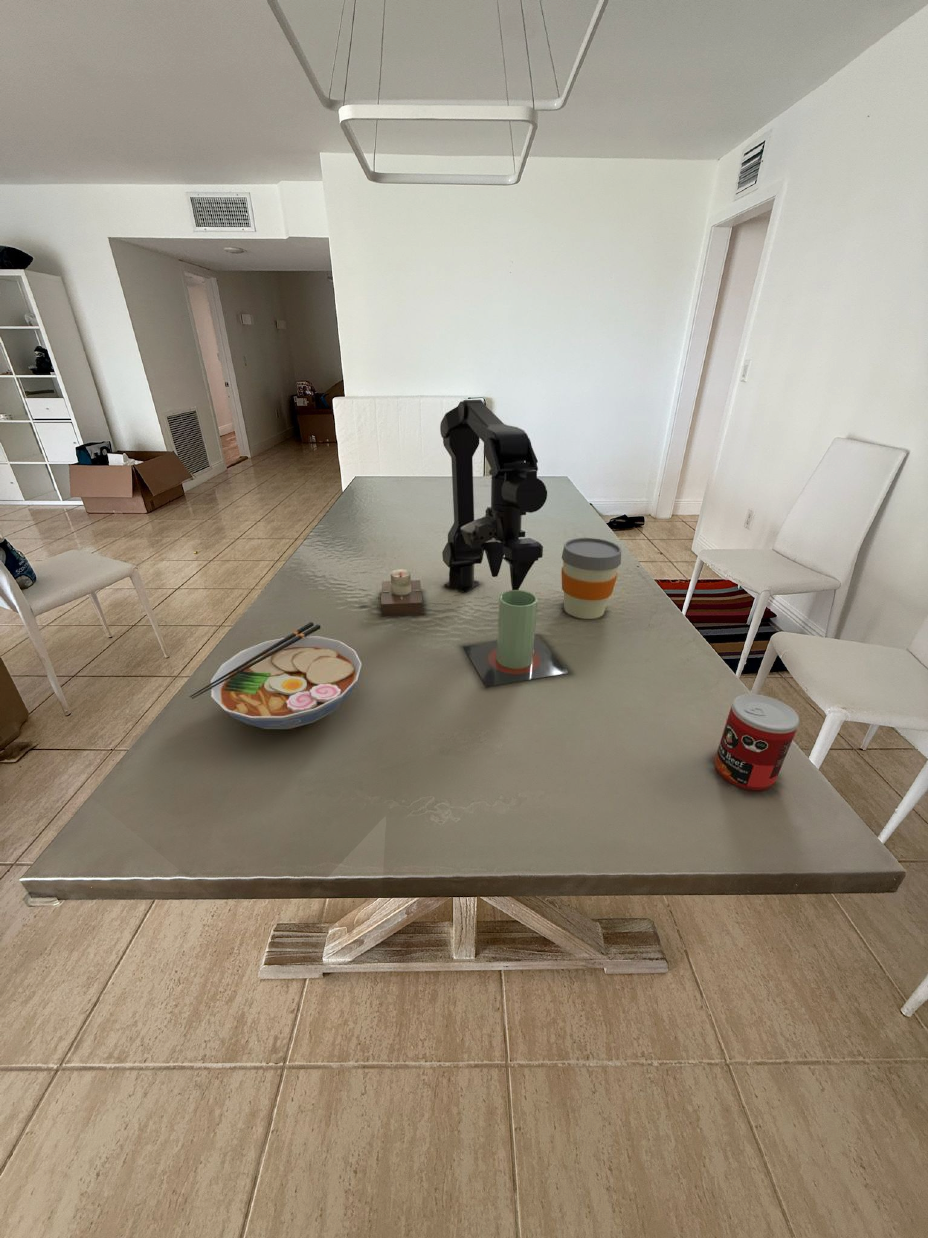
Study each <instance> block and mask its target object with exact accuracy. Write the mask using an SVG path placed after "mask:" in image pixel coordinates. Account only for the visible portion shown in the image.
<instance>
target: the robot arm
mask: <svg viewBox="0 0 928 1238" xmlns="http://www.w3.org/2000/svg"><path fill="white" fill-rule="evenodd" d="M439 431H440V436H441V438H442V443H443V447H444V448H445V450H446V452H447V454H448V455H449V456H450V459H451V460H450V461H451V482H452V505H453V524H452V525H451V528H450V529H449V531H448V532H447V543H446V544H445V546H444V548H443V549H442V552H441V555H442V556H441V557H442V562H443V563H444V564H445V565H446V566H447V568H449V571H448V581H447V582H446V583H444V584H443V585H444V587H445V588H448V589H450V590H451V589H452V590H455V591H458V592H462V593H468V592H470V591H471V590H473V589H474V588H475V587H476V586H479V585H480V582H479V581H478V580H475V565H478V564H479V565H481V564H482V563H483V562H482V561H483V558H484V555H485V557H486V559H487V564H488V567H489V571H490V575H491V577H492V578H497V577H498V576H499V574H500V571H501V567H502V564H503V560H504V561H505V562H506V563H507V564H508V565H509V574H510V586H511V590H520V588H521V586H522V584H523V583H524V581H525V578H526V576H527V575H528V574H529V572H530V570H531V568H532V567H533V565H534V564H535V562H537V561H539V559H542V558H543V556H544V546H543V544H542V543H541V542H539V541H537V540H536V539H533V538H531V537H526V531H525V530H523V529H522V519H523V516H526V515H527V513H529V514H530V513H531V514H532V513H536V512H538V511H539V510H540V509H541V508H542V507H543V506H544V505H545V503H546V501H547V499H548V490H547V486H546V485H545V483H544V481H542V479H540V478H538V471H539V467H538V463H539V461H538V458H537V455H536V453H535V451H534V448H533V445H532V442H531V439H530V437H529V435H528V433H527V431H525V430H524V429H522V428H520V427H518V426H513V425H509V424H505V423H504V422H503V421H502V420H501V419H500V418H499V417H498V416H497V414H495V413H494V412H493V411H492V410H491V408H489V407H488V406H487V402H486V401H485V400H482V399H463V400H462V401H459V403H458V405H456V407H453V408H452V409H450V410H449V411H447V412H446V413H445V414H444V415H443V418H442V420H441V421H440V423H439ZM480 441H482V442H483V455H484V456H485V460H486V461H487V463H488V465H489V467H490V469H489V471H488V474H489V475H490V476H491V478H490V479H491V480H490V481H491V483H490V486H491V487H490V493H491V494H490V506H488V507H487V506H486V509H485V514H484V516H482V517H480V518H476V519H475V500H474V499H475V498H474V497H475V496H474V495H475V493H474V468H473V467H474V465H473V457H474V456H475V453H476V452H477V450H478V448H479V446H480ZM484 553H485V554H484Z"/></svg>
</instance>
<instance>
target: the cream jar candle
mask: <svg viewBox="0 0 928 1238" xmlns="http://www.w3.org/2000/svg"><path fill="white" fill-rule="evenodd" d="M411 579H412V578H411V571H410V570H408V569H395V570H392V571H391V572H390V581H391V589H392V593H393V594H395V595H407V594H409V593H410V592H411V581H412V580H411Z"/></svg>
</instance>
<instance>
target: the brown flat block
mask: <svg viewBox="0 0 928 1238" xmlns="http://www.w3.org/2000/svg"><path fill="white" fill-rule="evenodd" d="M380 595H381V596H380V611H381V617H397V616H398V617H399V616H419V615H424V612H423V611H424V610H423V607H424V606H423V605H424V604H423V595H422V586H421V580H420V579H416V580H413V579H412V580H411V592H410V593H409V594H407V595H395V594H393V593H392V589H391V580H388V581H381V593H380Z"/></svg>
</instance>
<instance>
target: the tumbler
mask: <svg viewBox="0 0 928 1238" xmlns="http://www.w3.org/2000/svg"><path fill="white" fill-rule="evenodd" d="M538 601H539V598H538V596H537V595H536V594H534V593H533V592H531V591H527V590H523V589H518V590H512V589H509V590H506V591H503V592H502V593H500V594H499V596H498V613H497V616H498V617H497V629H496V642H497V650H496V659H497V661H498V663H499V664H501V665H502V666H504V667H507V668H512V669H520V668H525V667H527V666H529V665H530V664H531V662H532V658H533V647H534V636H536V623H537V612H538V603H539V602H538Z"/></svg>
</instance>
